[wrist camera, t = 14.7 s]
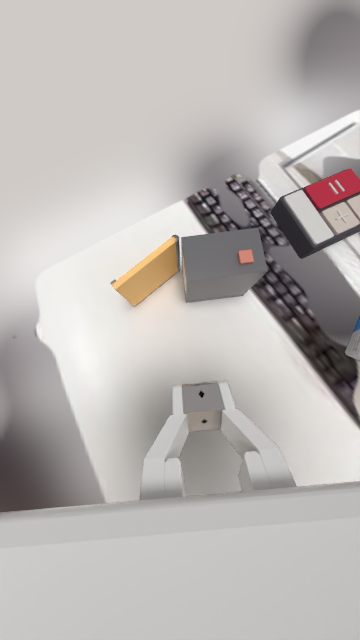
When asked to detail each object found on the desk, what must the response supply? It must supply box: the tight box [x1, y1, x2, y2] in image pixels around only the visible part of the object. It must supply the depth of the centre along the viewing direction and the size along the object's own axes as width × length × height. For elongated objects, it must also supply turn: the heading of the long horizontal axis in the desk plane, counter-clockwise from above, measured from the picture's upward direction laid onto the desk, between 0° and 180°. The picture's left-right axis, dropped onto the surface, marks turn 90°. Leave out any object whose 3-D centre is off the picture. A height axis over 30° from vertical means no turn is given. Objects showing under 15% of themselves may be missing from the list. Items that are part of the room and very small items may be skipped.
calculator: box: [271, 169, 360, 259], centre depth 33 cm, size 11×4×15 cm
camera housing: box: [181, 228, 268, 303], centre depth 28 cm, size 7×10×11 cm
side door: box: [111, 235, 180, 307], centre depth 28 cm, size 11×2×9 cm, turn 131°
